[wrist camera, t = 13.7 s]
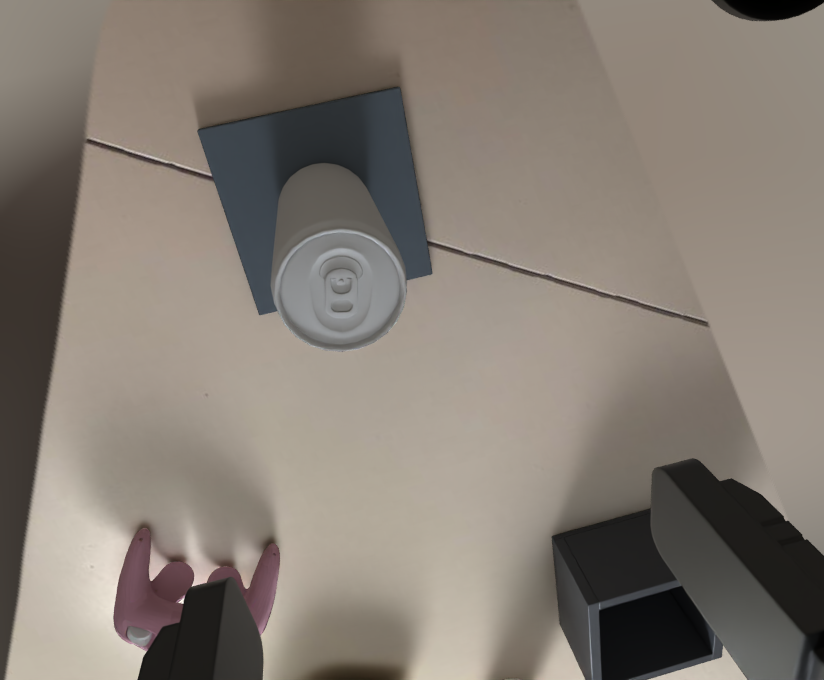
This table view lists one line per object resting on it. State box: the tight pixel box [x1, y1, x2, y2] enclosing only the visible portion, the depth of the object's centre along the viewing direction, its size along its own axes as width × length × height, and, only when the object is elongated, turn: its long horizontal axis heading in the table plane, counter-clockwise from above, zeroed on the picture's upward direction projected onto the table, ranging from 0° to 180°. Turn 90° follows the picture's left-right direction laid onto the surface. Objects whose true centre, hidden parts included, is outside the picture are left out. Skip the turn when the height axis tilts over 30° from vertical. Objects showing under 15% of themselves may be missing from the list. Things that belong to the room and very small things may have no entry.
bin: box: [552, 509, 723, 680], centre depth 45 cm, size 11×11×6 cm
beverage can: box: [271, 163, 407, 352], centre depth 25 cm, size 5×5×12 cm
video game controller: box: [113, 528, 280, 651], centre depth 38 cm, size 10×5×7 cm, turn 70°
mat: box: [197, 87, 432, 315], centre depth 31 cm, size 10×10×1 cm
